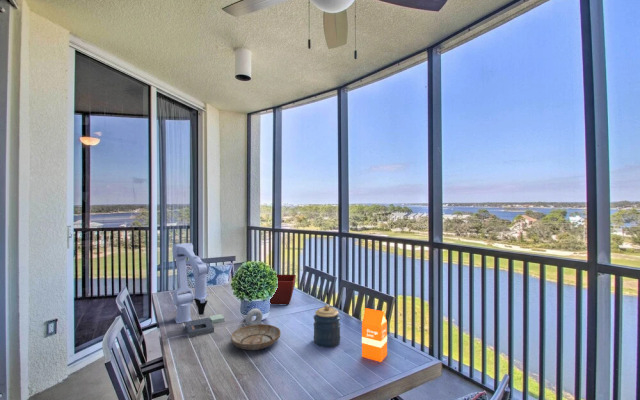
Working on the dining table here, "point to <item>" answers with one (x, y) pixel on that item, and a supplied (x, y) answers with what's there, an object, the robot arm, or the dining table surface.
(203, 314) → the barrel peg
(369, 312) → the orange juice
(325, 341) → the canister
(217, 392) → the dining table surface
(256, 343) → the brown shallow round bowl
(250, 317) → the grey stone ring
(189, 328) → the hole plate
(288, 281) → the plant pot
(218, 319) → the pale green block
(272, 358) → the dining table surface
